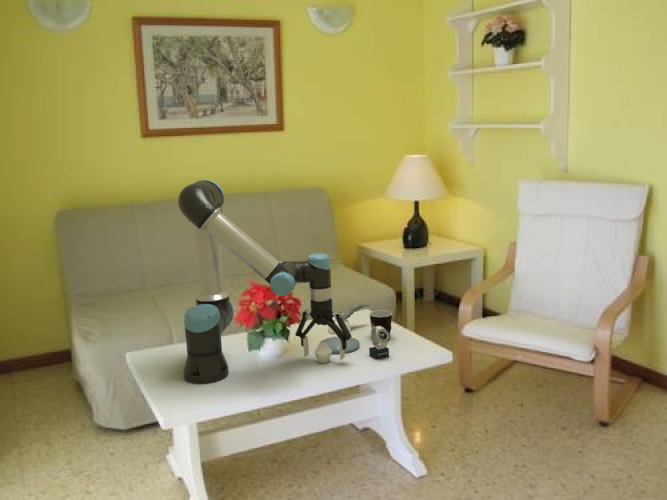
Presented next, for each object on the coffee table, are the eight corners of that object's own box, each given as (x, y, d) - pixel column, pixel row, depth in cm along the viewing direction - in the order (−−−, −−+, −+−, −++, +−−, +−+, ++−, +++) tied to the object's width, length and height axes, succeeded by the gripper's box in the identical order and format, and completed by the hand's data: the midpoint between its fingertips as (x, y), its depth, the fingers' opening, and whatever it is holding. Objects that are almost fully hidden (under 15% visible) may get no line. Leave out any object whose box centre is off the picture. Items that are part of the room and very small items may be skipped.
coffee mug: (369, 335, 271) (369, 310, 269) (392, 334, 271) (391, 310, 269) (370, 345, 260) (369, 319, 258) (393, 344, 260) (393, 319, 257)
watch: (378, 361, 244) (378, 331, 241) (366, 354, 251) (366, 325, 248) (392, 358, 246) (391, 328, 244) (380, 351, 253) (379, 322, 251)
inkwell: (324, 329, 280) (323, 305, 278) (363, 322, 288) (363, 298, 285) (334, 336, 272) (333, 311, 270) (374, 328, 279) (374, 304, 277)
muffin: (334, 363, 244) (333, 344, 242) (317, 365, 242) (316, 346, 240) (329, 357, 249) (328, 338, 248) (312, 359, 248) (312, 341, 246)
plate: (329, 356, 250) (329, 353, 249) (313, 344, 263) (313, 340, 263) (366, 349, 256) (366, 345, 255) (349, 337, 269) (348, 334, 269)
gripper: (358, 297, 240) (361, 355, 244) (292, 293, 249) (296, 350, 253) (351, 303, 233) (354, 363, 237) (283, 299, 242) (287, 357, 246)
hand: (324, 356), depth 245 cm, fingers open, 13 cm apart
